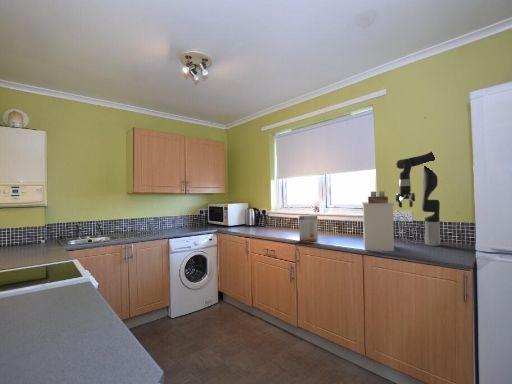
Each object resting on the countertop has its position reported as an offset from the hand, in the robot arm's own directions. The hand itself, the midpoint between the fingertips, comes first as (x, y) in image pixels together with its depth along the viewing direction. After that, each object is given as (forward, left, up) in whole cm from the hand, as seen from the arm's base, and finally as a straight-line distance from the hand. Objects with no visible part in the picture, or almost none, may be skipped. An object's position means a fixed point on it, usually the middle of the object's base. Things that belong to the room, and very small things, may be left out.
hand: (405, 207), depth 207 cm
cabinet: (+25, -9, -28) cm, 39 cm away
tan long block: (+21, -12, +4) cm, 24 cm away
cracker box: (+39, -61, -28) cm, 78 cm away
